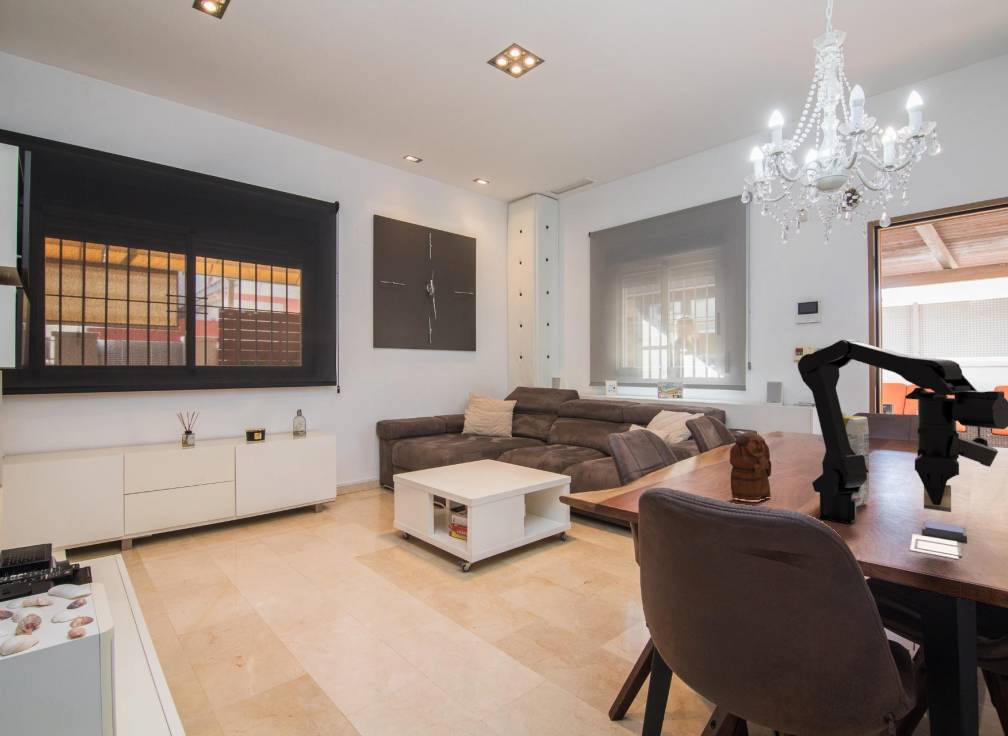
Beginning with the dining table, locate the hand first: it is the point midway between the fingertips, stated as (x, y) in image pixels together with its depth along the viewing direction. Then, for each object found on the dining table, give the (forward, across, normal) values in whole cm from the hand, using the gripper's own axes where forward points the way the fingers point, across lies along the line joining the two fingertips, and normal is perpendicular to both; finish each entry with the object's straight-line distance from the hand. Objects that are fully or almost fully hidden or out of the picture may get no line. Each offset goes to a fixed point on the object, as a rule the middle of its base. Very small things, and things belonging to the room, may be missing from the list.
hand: (936, 502), depth 98 cm
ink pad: (+9, +12, -1) cm, 15 cm away
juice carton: (+9, +27, +18) cm, 34 cm away
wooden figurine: (+9, +16, +38) cm, 42 cm away
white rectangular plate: (+9, +1, 0) cm, 9 cm away
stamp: (+1, 0, 0) cm, 1 cm away
